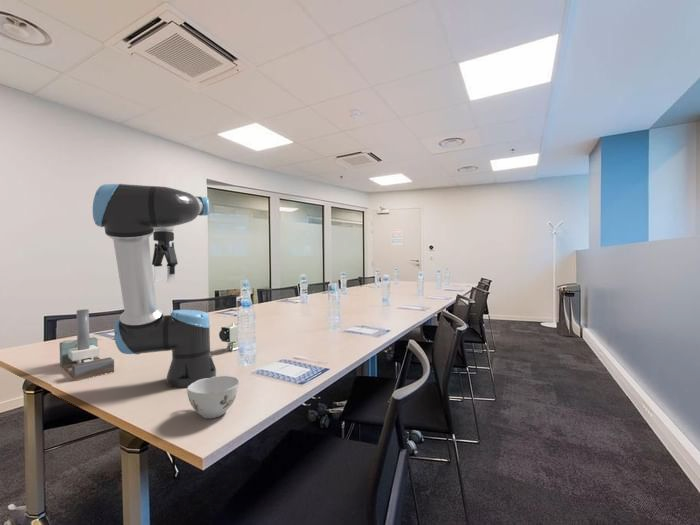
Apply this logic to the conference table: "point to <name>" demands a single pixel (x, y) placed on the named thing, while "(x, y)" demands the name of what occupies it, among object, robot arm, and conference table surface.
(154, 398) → the conference table surface
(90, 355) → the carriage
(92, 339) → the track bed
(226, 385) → the white floral bowl
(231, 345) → the pneumatic valve
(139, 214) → the robot arm
